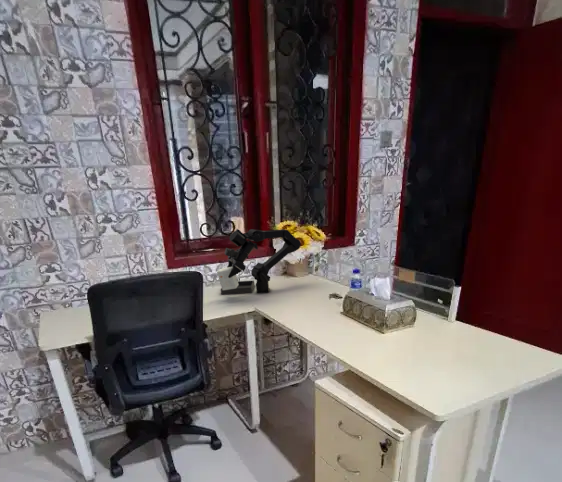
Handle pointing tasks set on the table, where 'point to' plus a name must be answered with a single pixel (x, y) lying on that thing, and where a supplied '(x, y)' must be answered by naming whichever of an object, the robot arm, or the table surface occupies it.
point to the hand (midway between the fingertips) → (227, 275)
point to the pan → (240, 288)
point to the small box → (227, 279)
